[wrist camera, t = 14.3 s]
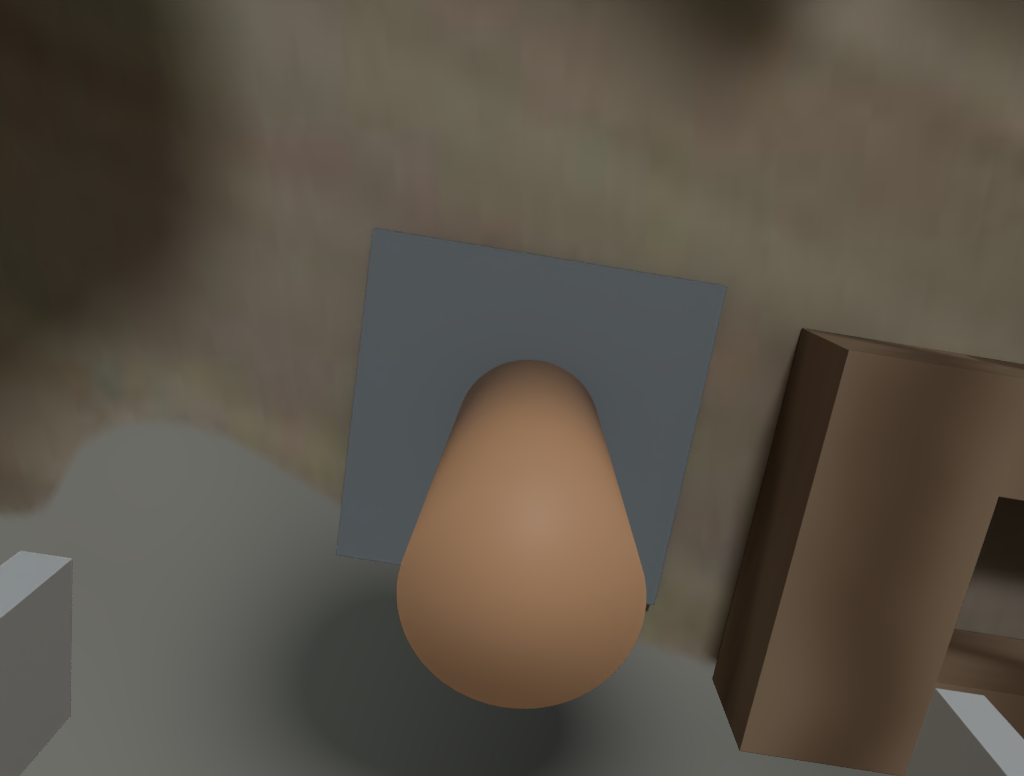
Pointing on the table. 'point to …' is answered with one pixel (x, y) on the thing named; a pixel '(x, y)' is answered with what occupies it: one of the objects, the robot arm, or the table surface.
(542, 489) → the peg
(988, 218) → the table surface
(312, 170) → the table surface
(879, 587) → the pocket block
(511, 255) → the mat
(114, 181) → the table surface
